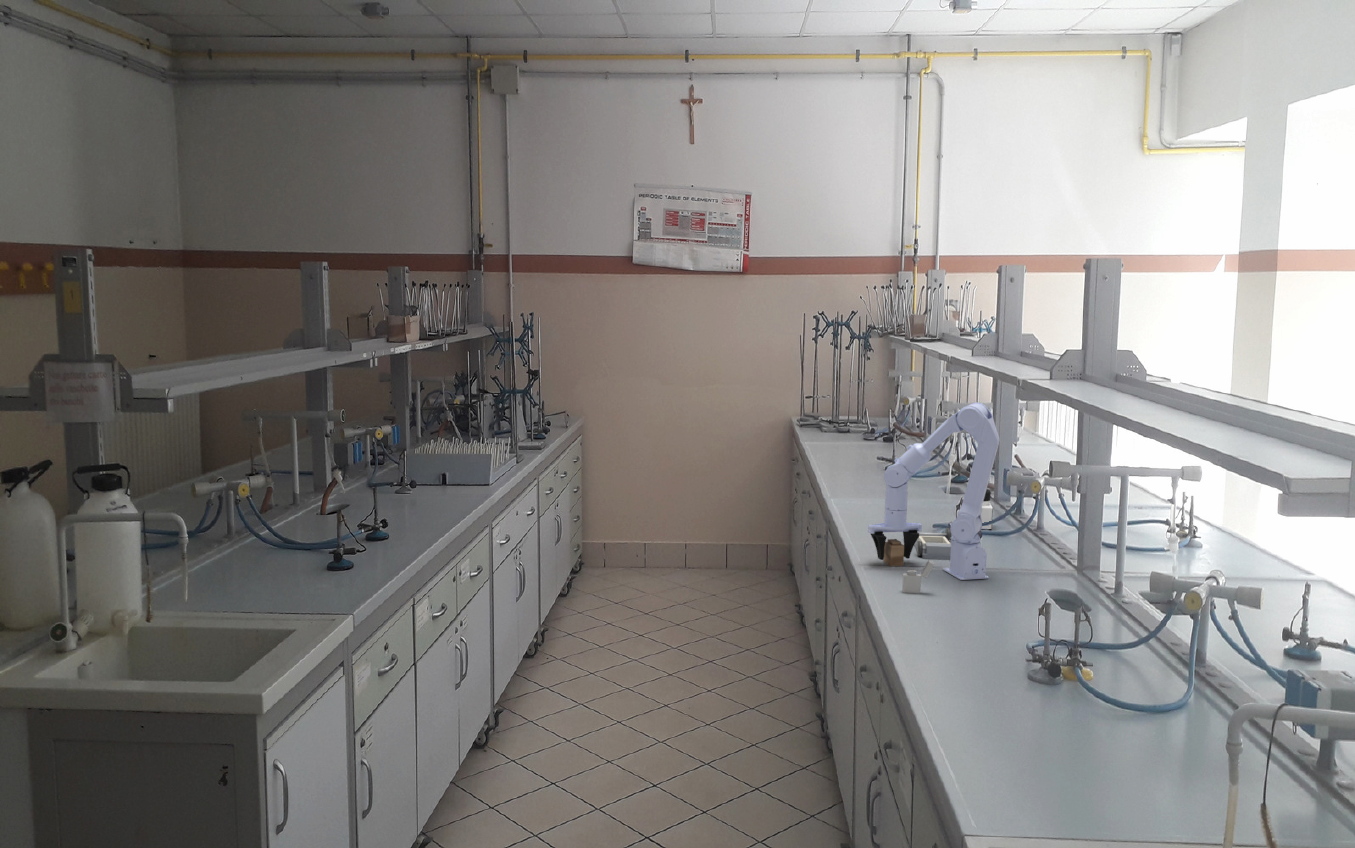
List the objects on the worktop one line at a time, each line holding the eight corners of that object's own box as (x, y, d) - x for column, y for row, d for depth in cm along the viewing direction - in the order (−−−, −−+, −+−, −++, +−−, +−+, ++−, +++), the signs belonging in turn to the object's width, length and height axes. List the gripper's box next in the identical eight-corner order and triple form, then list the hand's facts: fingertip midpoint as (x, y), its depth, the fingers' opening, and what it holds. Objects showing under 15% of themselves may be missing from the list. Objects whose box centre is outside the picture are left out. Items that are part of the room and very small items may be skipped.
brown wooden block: (903, 565, 255) (904, 542, 255) (890, 566, 255) (891, 543, 254) (896, 561, 260) (897, 538, 259) (883, 561, 259) (884, 538, 258)
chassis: (964, 559, 261) (964, 545, 261) (919, 558, 262) (920, 544, 262) (947, 539, 283) (947, 525, 283) (905, 537, 284) (906, 524, 283)
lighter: (902, 592, 232) (904, 560, 231) (902, 590, 234) (903, 558, 233) (933, 593, 232) (934, 561, 231) (931, 591, 233) (933, 559, 232)
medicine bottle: (991, 530, 295) (994, 491, 293) (967, 528, 296) (969, 490, 294) (989, 524, 301) (991, 487, 300) (965, 523, 303) (967, 486, 301)
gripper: (914, 504, 261) (911, 552, 262) (864, 506, 257) (862, 555, 259) (926, 510, 254) (923, 560, 256) (875, 512, 251) (873, 562, 252)
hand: (893, 558), depth 257 cm, fingers open, 7 cm apart
